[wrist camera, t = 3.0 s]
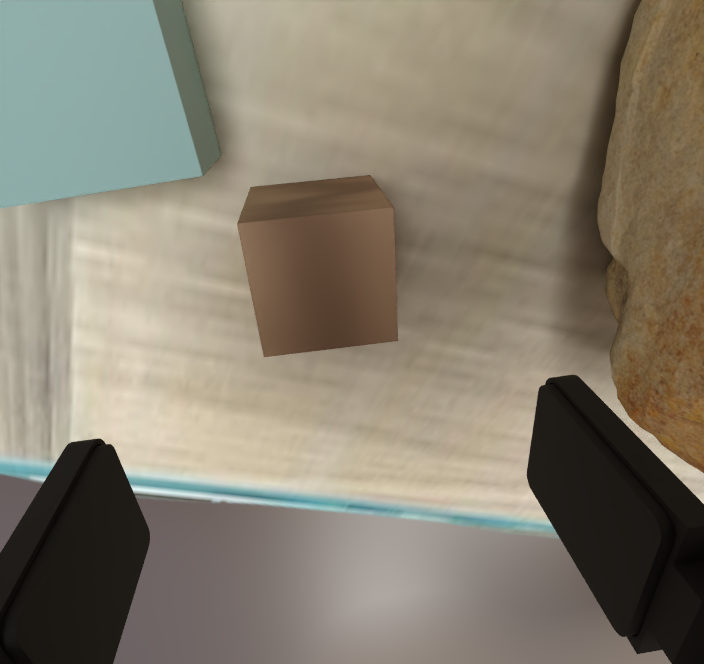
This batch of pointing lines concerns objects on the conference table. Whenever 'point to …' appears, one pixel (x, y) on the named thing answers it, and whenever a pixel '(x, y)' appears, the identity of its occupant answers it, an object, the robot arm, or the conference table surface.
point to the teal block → (98, 98)
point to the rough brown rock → (659, 226)
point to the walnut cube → (320, 264)
